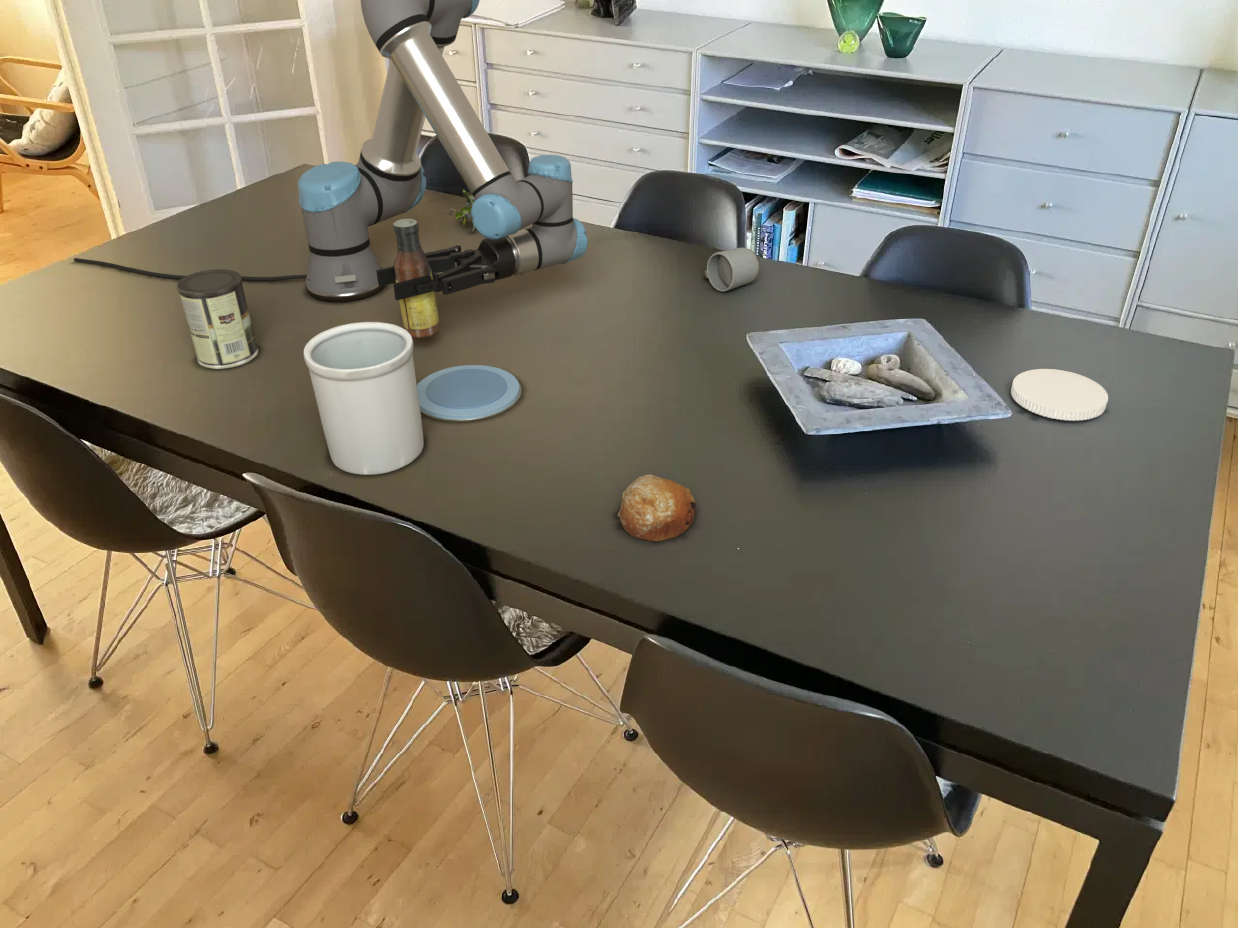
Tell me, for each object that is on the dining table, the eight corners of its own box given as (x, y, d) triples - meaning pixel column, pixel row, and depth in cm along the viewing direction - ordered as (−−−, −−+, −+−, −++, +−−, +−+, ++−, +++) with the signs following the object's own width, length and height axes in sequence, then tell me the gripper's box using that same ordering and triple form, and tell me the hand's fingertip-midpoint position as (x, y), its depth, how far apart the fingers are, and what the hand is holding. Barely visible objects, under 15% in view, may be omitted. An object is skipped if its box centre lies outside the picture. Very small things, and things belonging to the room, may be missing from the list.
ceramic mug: (761, 285, 196) (763, 248, 192) (732, 296, 192) (733, 259, 188) (723, 271, 203) (724, 235, 199) (694, 281, 199) (695, 244, 195)
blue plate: (390, 409, 157) (389, 402, 156) (449, 361, 170) (448, 355, 170) (487, 431, 151) (487, 424, 150) (540, 380, 164) (539, 373, 164)
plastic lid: (1059, 435, 149) (1063, 420, 147) (990, 394, 159) (993, 381, 158) (1123, 412, 154) (1128, 398, 152) (1053, 375, 164) (1056, 361, 163)
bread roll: (629, 520, 137) (603, 478, 133) (696, 490, 136) (672, 447, 131) (636, 565, 129) (609, 522, 125) (707, 534, 127) (682, 489, 123)
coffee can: (226, 338, 179) (208, 265, 171) (271, 349, 175) (254, 274, 167) (183, 362, 171) (162, 286, 163) (229, 374, 167) (209, 296, 160)
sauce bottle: (447, 329, 174) (435, 220, 163) (423, 343, 170) (409, 232, 159) (419, 320, 177) (406, 213, 166) (395, 333, 173) (379, 224, 162)
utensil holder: (378, 489, 138) (359, 379, 128) (303, 459, 145) (280, 352, 135) (447, 441, 148) (434, 336, 139) (374, 416, 155) (357, 313, 145)
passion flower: (496, 246, 231) (523, 207, 224) (468, 252, 222) (495, 212, 216) (465, 212, 232) (490, 172, 226) (436, 217, 223) (461, 176, 217)
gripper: (535, 293, 172) (413, 326, 161) (483, 258, 185) (367, 287, 174) (533, 252, 168) (408, 283, 157) (480, 220, 181) (360, 246, 170)
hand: (386, 285), depth 166 cm, fingers closed on sauce bottle, 6 cm apart
